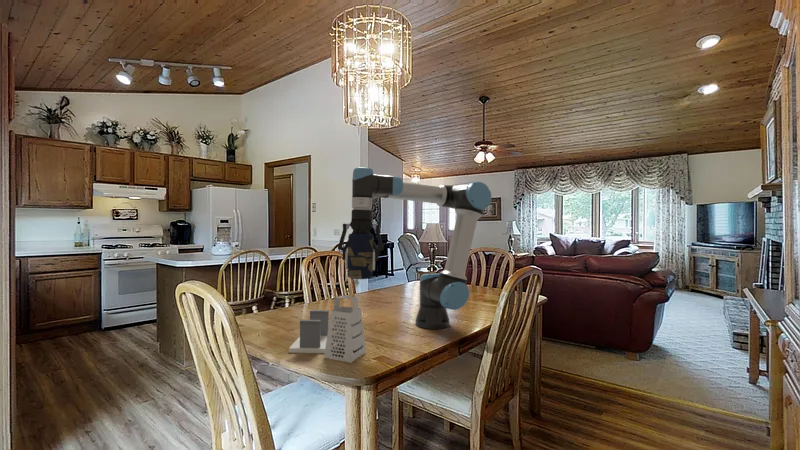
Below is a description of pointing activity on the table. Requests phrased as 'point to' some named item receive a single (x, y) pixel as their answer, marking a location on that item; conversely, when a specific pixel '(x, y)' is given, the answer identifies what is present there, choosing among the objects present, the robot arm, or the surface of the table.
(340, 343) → the grater
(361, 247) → the canister
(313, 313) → the napkin holder
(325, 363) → the table surface
